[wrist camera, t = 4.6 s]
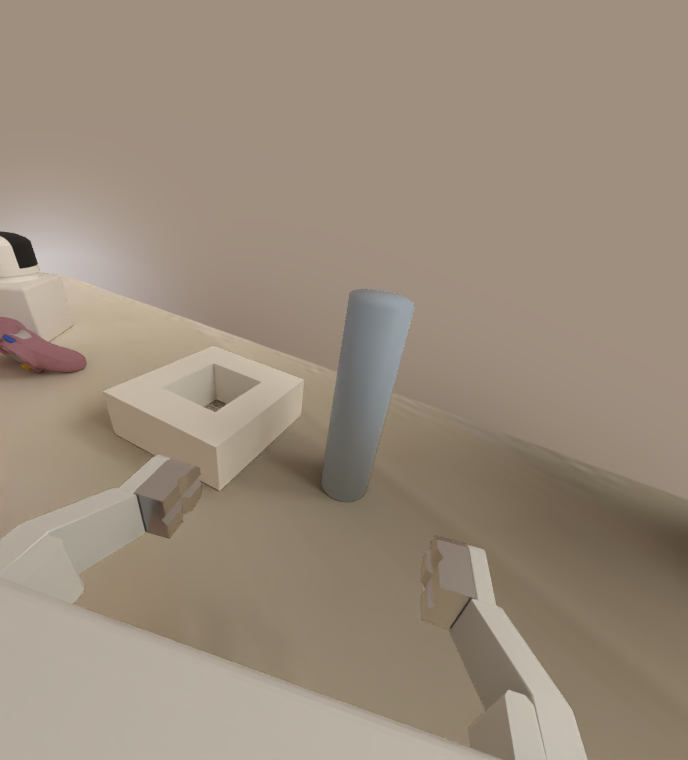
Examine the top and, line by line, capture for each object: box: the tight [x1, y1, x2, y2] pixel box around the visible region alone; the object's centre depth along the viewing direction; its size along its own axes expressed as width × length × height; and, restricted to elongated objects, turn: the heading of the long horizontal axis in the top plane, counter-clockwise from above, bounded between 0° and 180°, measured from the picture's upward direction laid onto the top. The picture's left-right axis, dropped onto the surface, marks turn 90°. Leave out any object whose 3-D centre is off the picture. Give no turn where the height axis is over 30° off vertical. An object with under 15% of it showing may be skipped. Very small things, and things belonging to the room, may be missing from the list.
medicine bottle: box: [0, 232, 74, 342], centre depth 38 cm, size 7×7×12 cm
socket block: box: [103, 346, 304, 491], centre depth 30 cm, size 12×12×4 cm
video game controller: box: [0, 317, 87, 373], centre depth 34 cm, size 10×5×7 cm, turn 66°
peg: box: [321, 289, 415, 502], centre depth 23 cm, size 4×4×16 cm
